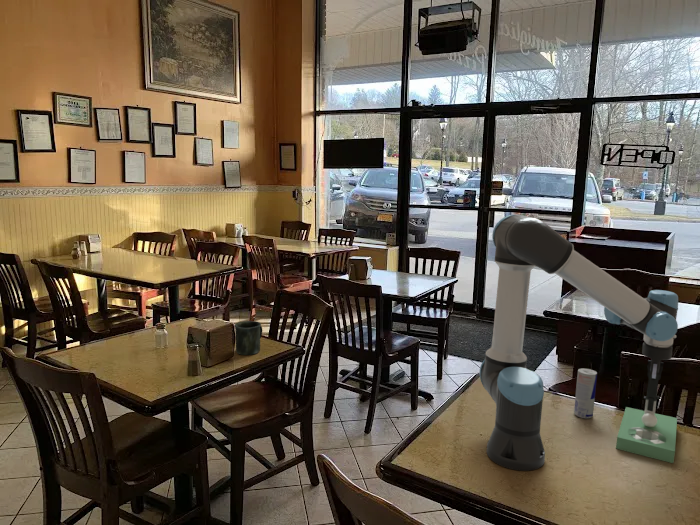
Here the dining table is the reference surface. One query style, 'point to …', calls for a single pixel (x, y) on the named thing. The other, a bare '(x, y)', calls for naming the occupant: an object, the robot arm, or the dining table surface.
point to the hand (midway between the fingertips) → (648, 419)
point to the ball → (649, 420)
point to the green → (647, 435)
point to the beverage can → (585, 393)
